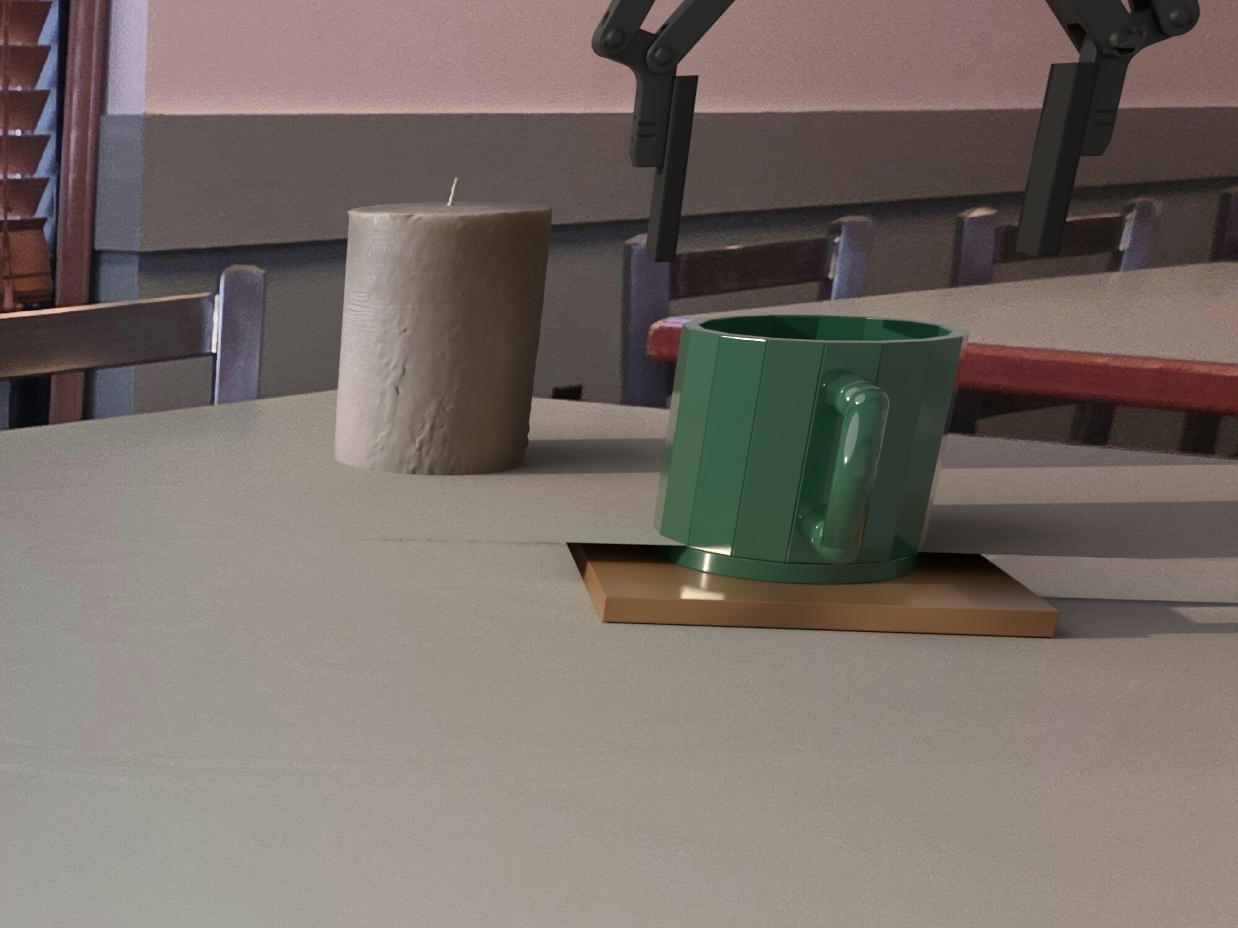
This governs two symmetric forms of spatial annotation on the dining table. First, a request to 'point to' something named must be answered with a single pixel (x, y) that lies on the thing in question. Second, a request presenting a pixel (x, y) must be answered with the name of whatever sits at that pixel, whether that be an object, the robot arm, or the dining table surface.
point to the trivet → (814, 596)
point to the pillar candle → (440, 335)
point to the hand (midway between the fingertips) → (843, 257)
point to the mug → (806, 445)
